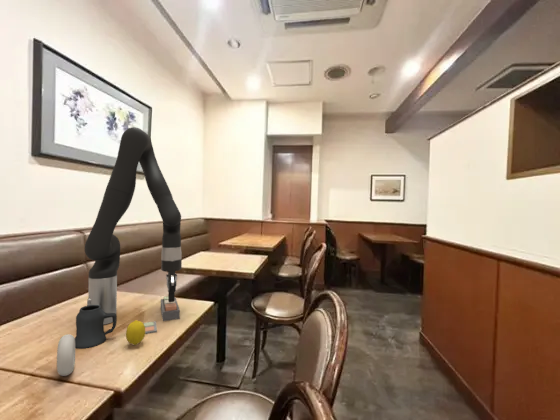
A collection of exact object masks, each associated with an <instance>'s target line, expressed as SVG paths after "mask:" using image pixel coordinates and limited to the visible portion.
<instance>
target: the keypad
mask: <svg viewBox="0 0 560 420" xmlns="http://www.w3.org/2000/svg"><path fill="white" fill-rule="evenodd" d="M163 300H164V298H160V312H161V318H162V320H161V321H162V322H167V321H169V322H170V321H174V320H180V317H181V313H180V312H181V310H180V307H179V304H178V301H177V297H175V303H176V306H177V310H171V311H165V307H164V302H163Z"/></svg>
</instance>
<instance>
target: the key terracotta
mask: <svg viewBox="0 0 560 420" xmlns="http://www.w3.org/2000/svg"><path fill="white" fill-rule="evenodd" d="M171 310H177V306H176V303H173V304H165V311H171Z"/></svg>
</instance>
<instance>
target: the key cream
mask: <svg viewBox="0 0 560 420" xmlns="http://www.w3.org/2000/svg"><path fill="white" fill-rule="evenodd" d="M173 303H175V301H174V302H169V301H168V300H164V307H165V304H173Z"/></svg>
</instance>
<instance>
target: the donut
mask: <svg viewBox="0 0 560 420" xmlns="http://www.w3.org/2000/svg"><path fill="white" fill-rule="evenodd" d="M56 353H57V354H56V371H57V373H58V375H59V376H62V377H66V376H69V375H70V374H72V373H73V371H74V370H75V364H76V348H75V336H74V335H72V334H71V333H69V334H64V335H63V336H61V337H60V339H59V341H58V343H57V350H56Z"/></svg>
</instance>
